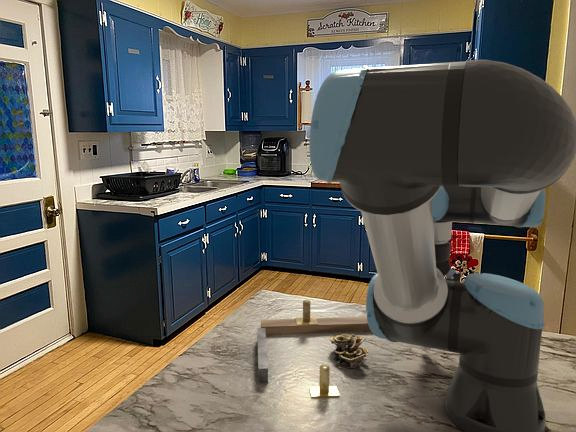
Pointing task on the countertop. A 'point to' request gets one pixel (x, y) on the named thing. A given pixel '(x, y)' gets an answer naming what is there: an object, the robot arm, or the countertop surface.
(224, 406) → the countertop surface
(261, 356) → the end stop
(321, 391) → the near post
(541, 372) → the countertop surface
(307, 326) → the beam plank
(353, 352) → the mushroom
